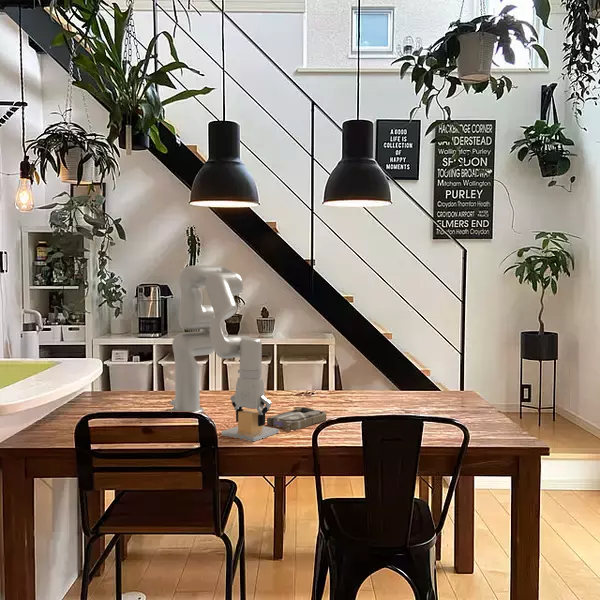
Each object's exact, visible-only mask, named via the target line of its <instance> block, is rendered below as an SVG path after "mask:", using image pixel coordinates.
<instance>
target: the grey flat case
mask: <svg viewBox="0 0 600 600" xmlns="http://www.w3.org/2000/svg"><path fill="white" fill-rule="evenodd" d="M325 421H327V413H326V411H324V410H322V411H320V410H319V409H314V408H311V407H306V406H305V407H304V406H297V407H295V408H294V409H292V410H289V411H285V412H282V413H278V414H275V415H272V416H270V417H269V416H268V417H266V425H267V426H269V425H271V426H270V427H275V426H278V427H277V428H280V427H283V428H282V429H283V430H284V429H287V430H294V431H297V430H296V429H298V430H300V429H299V428H301V429H304V428H307V427H310V426H312V425H316V424H319V423H322V422H325ZM315 423H316V424H315ZM272 425H273V426H272ZM309 425H310V426H309ZM306 426H307V427H306ZM303 427H304V428H303ZM287 430H286V431H287Z"/></svg>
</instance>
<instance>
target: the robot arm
mask: <svg viewBox="0 0 600 600" xmlns="http://www.w3.org/2000/svg"><path fill="white" fill-rule="evenodd" d="M178 279H179V280H178V282H179V288H180V299H179V300H180V301H179V302H180V303H179V312H178V314H179V315H178V325H179V327H180V328H181V329H182V330H187V331H188V332H187V331H186V332H181V333H178V334H176V335H175V336H174V337H173V339H172V343H171V345H172V346H171V347H172V353H173V356H174V374H175V375H174V378H175V379H174V381H175V382H174V384H175V385H174V386H175V387H174V389H175V390H174V393H175V394H174V396H175V397H174V398H173V399H171V400H170V401H169V405H171V406H173V407H172V408H171V411H190V412H200V413H199V414H202V413H203V412H204V407H202V406H200V403H201V402H200V397H201V396H200V393H201V392H200V366H199V363H198V362H197V360H196V358H195V357H197V356H208V355H211V354H213V353H215V354H216V355H217V356H218V357H219V358H220V359H233V358H239V369H238V370H237V373H238V374H239V377H237V381H236V383H235V384H236V385H235V391H234V392H235V394H233V395H231V396H230V401H231V404H232V407H233V408H234V411H235V423H238V412H239V411H243V410H244V409H243V408H246V409H254V410H257V411H258V412H259V415H258V426H265V424H266V414H267V413H268V412H269V411H270V408H271V405H272V402H271V400H269V399H267V398H266V395H265V394H266V393H265V385H264V380H263V378H262V363H263V362H262V358H263V357H262V355H263V353H262V351H263V349H262V348H263V347H262V345H263V344H262V343H263V342H262V340H261V339H260V338H257V337H251V336H248V335H234V336H233V335H231V336H229V335H228V336H225V335H224V332H223V328H222V322H224V321H225V320H228V319H230V318H231V317H232V316H234V315H235V314H236V313H237V312H238V306H237V304H236V300H235V297H234V296H239V295H240V294H241V293H242V292H243V289H244V282H243V279H242V277H241V276H240V274H239V273H237V272H235V271H234V270H232V269H229V268H227V267H226V266H222V265H199V264H198V265H187V266H185V267H183V269H182V270H181V272H180V274H179V278H178ZM202 288H205V290H206V293H207V296H208V299H209V302H210V305H209V304H203V301H204V299H203V298H204V297H203V292H202V290H201V289H202ZM193 330H196V331H193ZM197 330H201V331H197Z"/></svg>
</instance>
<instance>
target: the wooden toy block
mask: <svg viewBox="0 0 600 600" xmlns="http://www.w3.org/2000/svg"><path fill="white" fill-rule="evenodd" d="M258 415H259V412H258V411H257V409H250V408H246V409H243V411H239V412H238V422H237V426H238V431H243V432H249V433H253V432H257V431H260V430H263V426H264V425H263V426H258Z"/></svg>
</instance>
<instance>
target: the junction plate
mask: <svg viewBox="0 0 600 600" xmlns="http://www.w3.org/2000/svg"><path fill="white" fill-rule="evenodd" d="M279 430H280V429H279V428H276V427H272V426H265V425H263V430H260V431H257V432H253V433H249V432H243V431H238V425H237V426H235V427H230V428H228V429H224V430H221V436H222V435H224V437H227V436H229V437H228V438H232V437H235V438H234V439H237V438H240V439H239V440H242V439H246V440H245V441H247V440H250V441H249V442H251V441H255V442H257V441H260V440H263V439H266V438H268V437H267V436H269V437H271V436H270V435H272V436H274V435H273V434H275V435H277V434H276V433H278V434H279V433H280V431H279ZM265 437H266V438H265ZM262 438H263V439H262ZM259 439H260V440H259ZM256 440H257V441H256Z"/></svg>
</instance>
